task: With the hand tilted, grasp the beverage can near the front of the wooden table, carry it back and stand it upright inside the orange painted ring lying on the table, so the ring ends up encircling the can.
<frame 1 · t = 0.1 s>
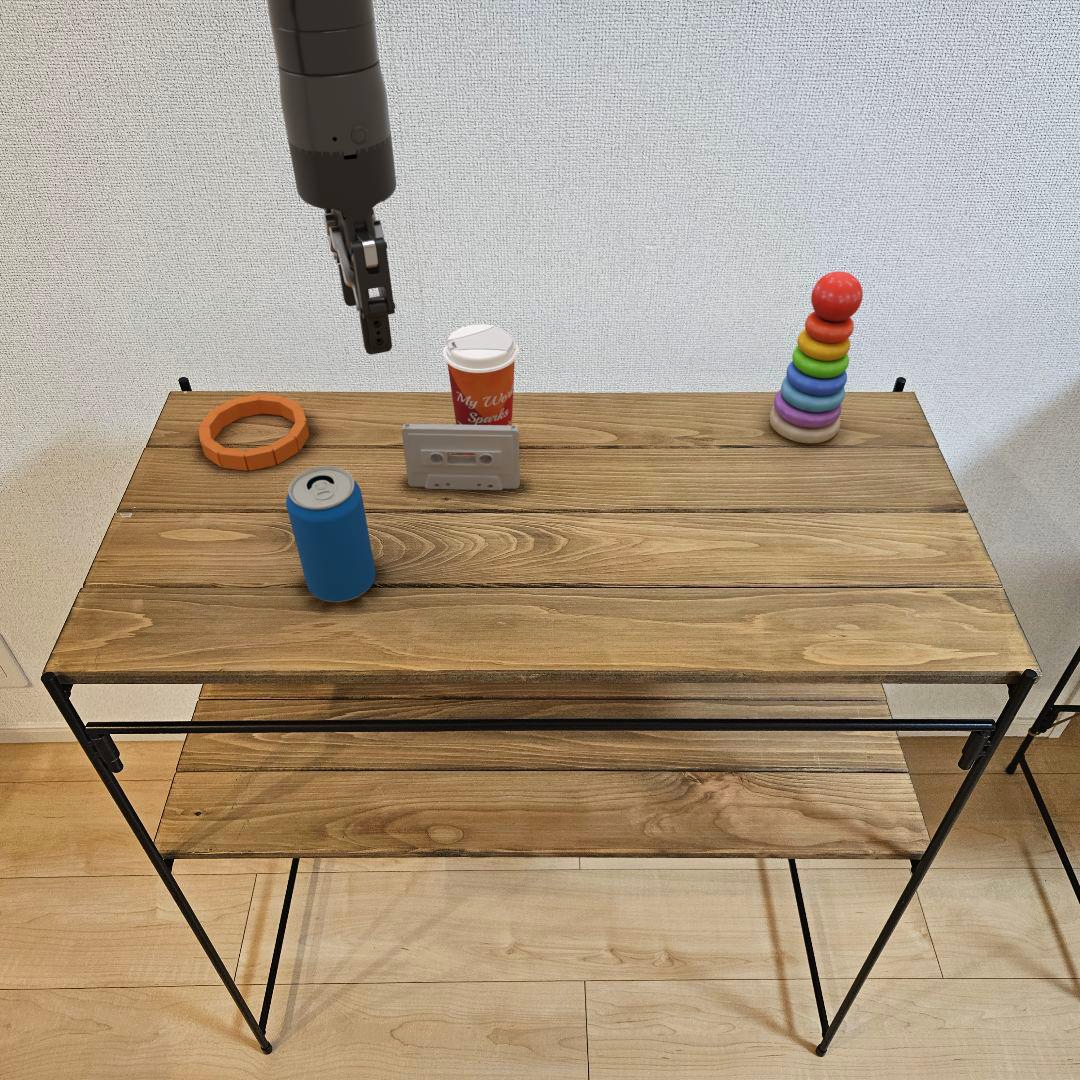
hand: (367, 326, 76), 22 cm above the table, tool pointing down, fingers open, 8 cm apart
ring: (256, 438, 101), on the table
beverage can: (342, 583, 85), on the table
stacking toy: (802, 427, 103), on the table
paper cup: (486, 451, 100), on the table
cassette: (464, 486, 95), on the table
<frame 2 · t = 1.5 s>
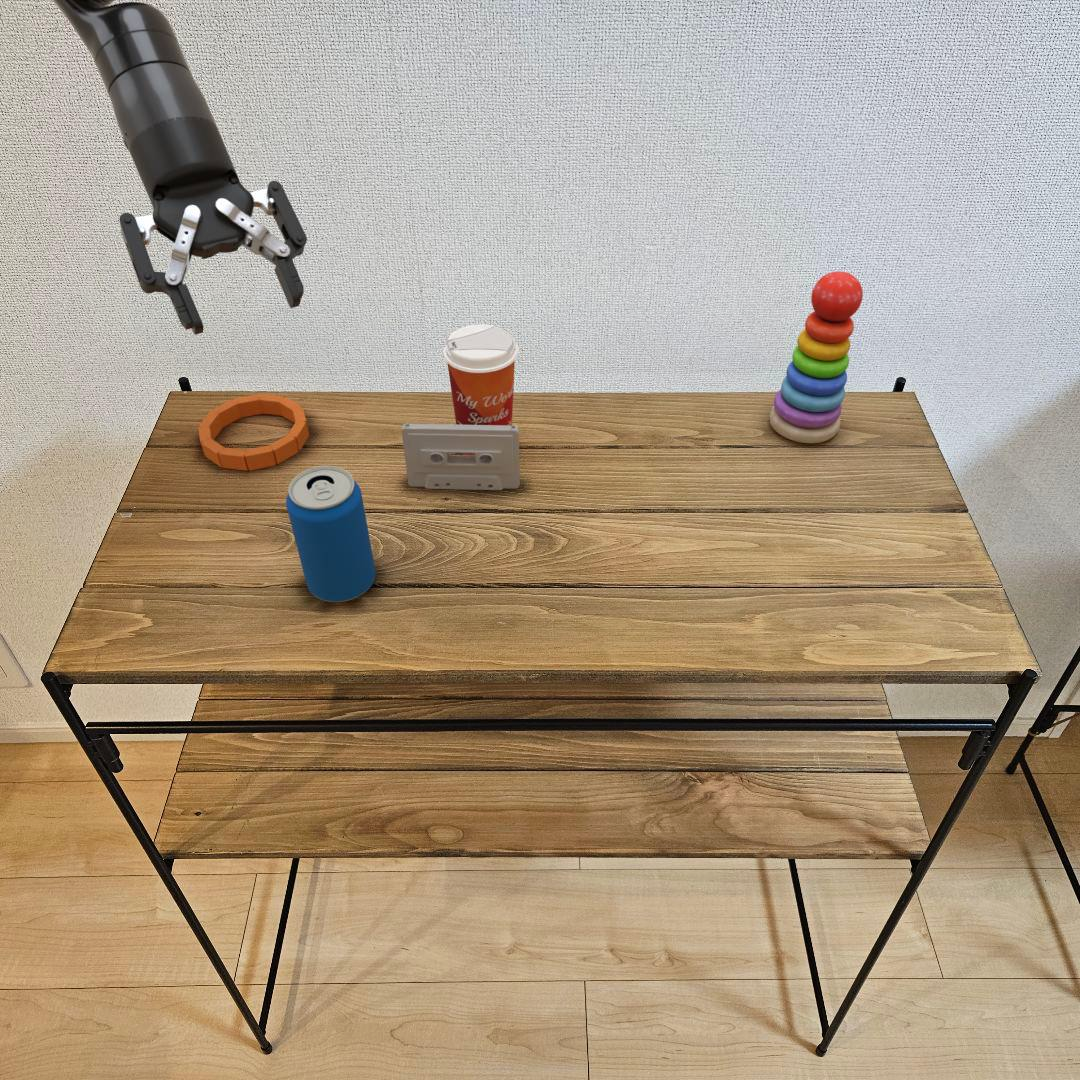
hand: (249, 317, 76), 23 cm above the table, tool tilted 45°, fingers open, 8 cm apart
nothing on the table moved.
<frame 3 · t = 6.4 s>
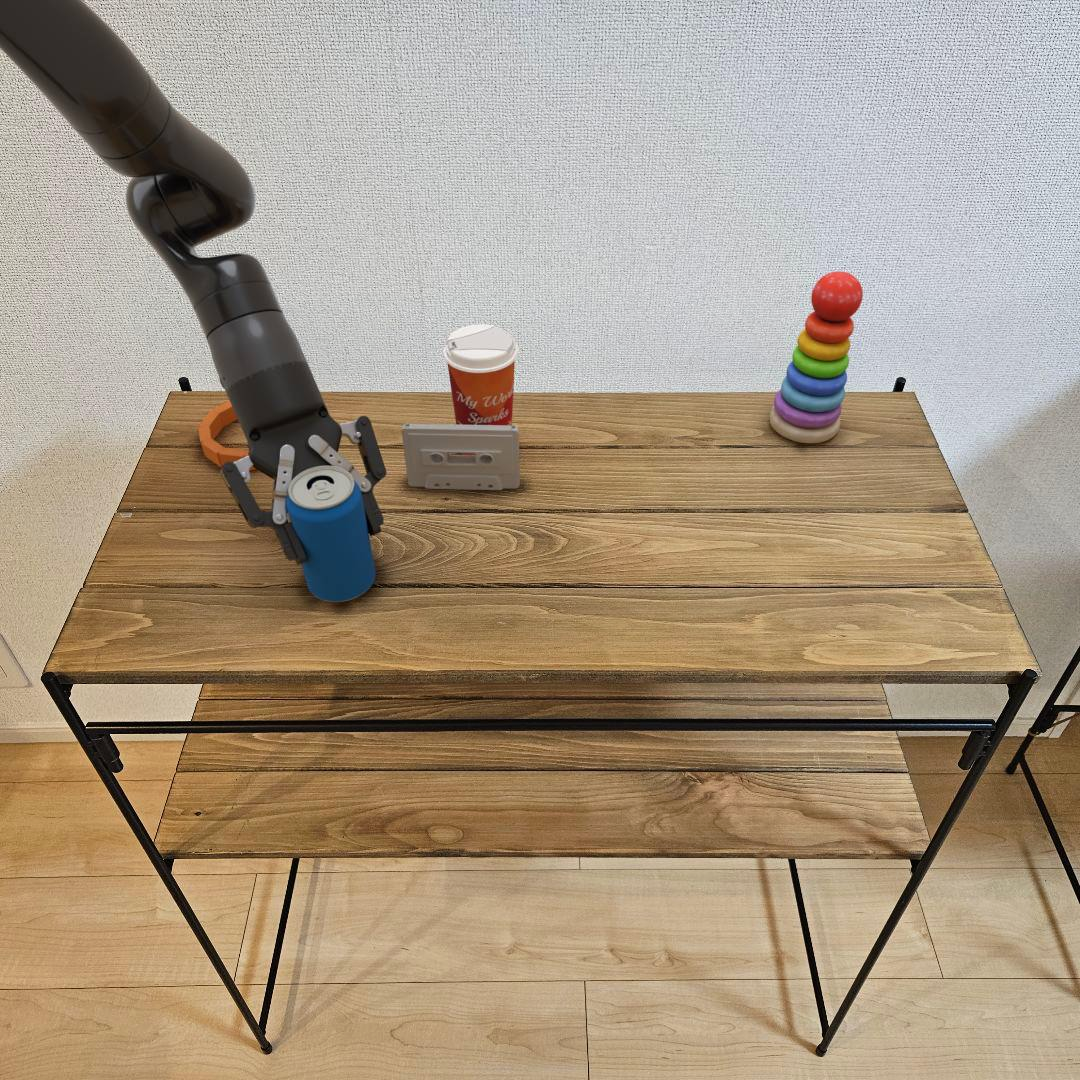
hand: (340, 547, 80), 6 cm above the table, tool tilted 45°, fingers closed on beverage can, 6 cm apart
beverage can: (342, 583, 85), on the table, touching gripper
everything else where it was.
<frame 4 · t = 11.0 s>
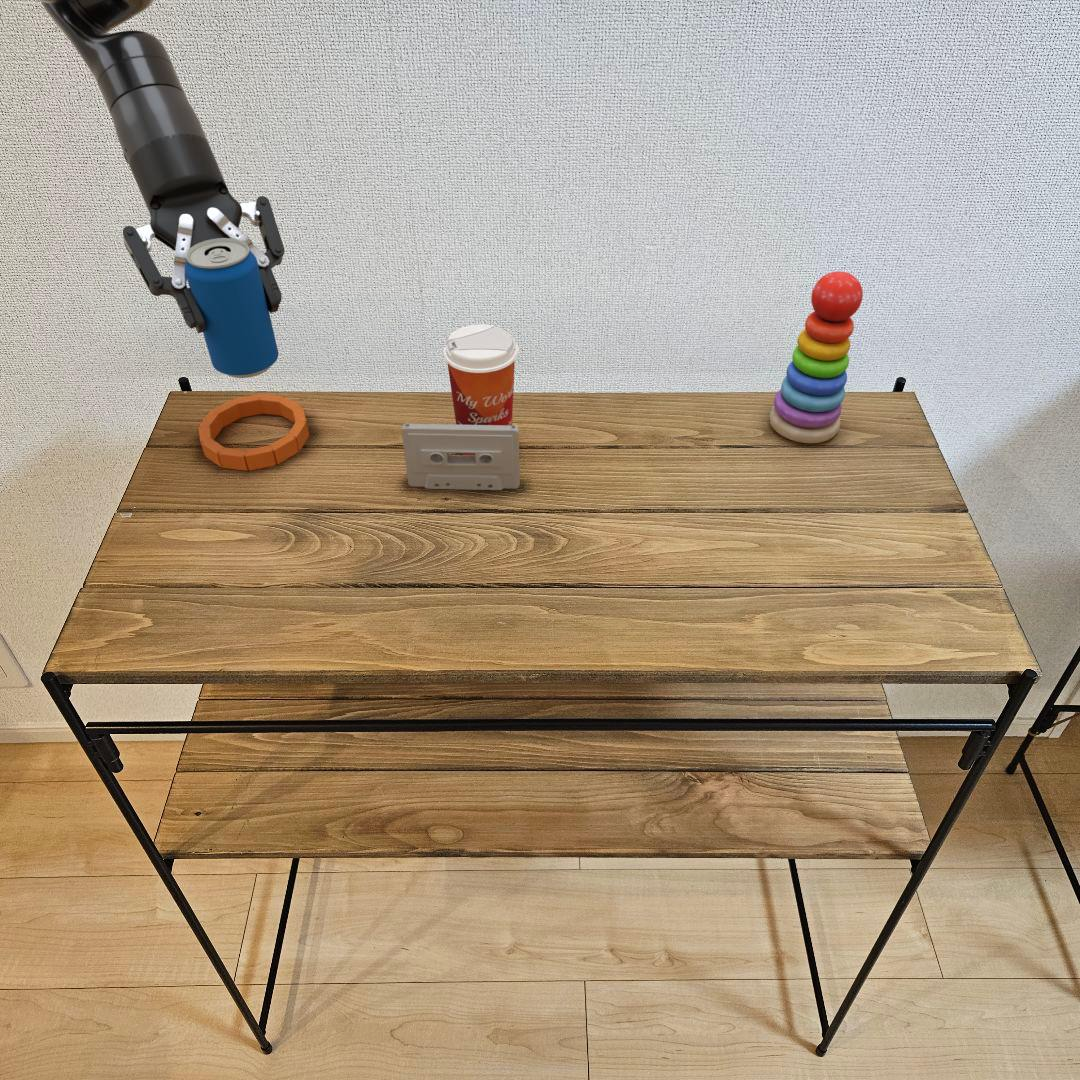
hand: (239, 319, 84), 18 cm above the table, tool tilted 45°, fingers closed on beverage can, 6 cm apart
beverage can: (247, 366, 89), point 12 cm above the table, touching gripper
everything else where it was.
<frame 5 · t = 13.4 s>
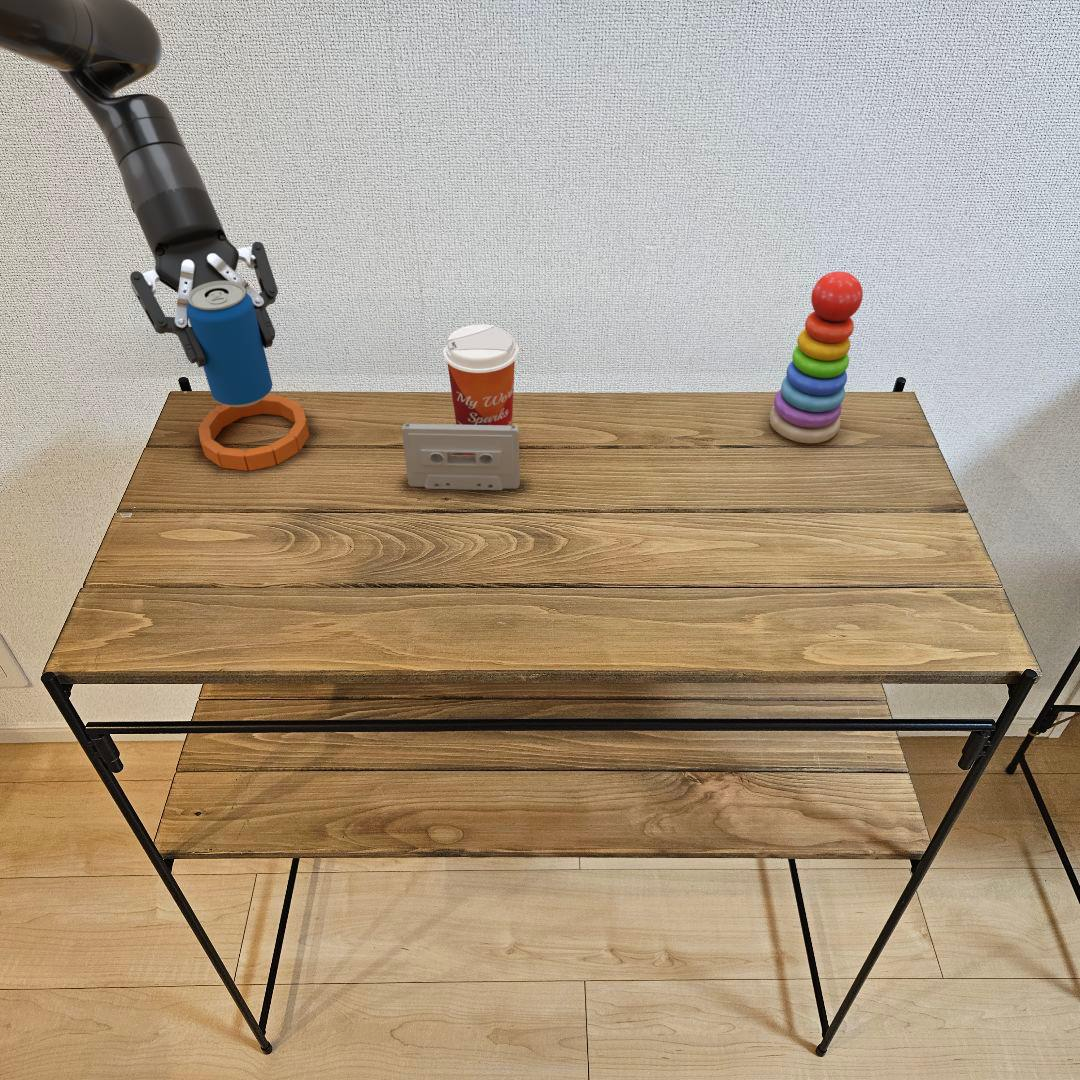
hand: (236, 354, 92), 12 cm above the table, tool tilted 45°, fingers closed on beverage can, 6 cm apart
beverage can: (244, 395, 97), point 6 cm above the table, touching gripper
everything else where it was.
when the fingers open (6 cm above the table, at t = 15.6 s): beverage can stays where it is, resting in ring.
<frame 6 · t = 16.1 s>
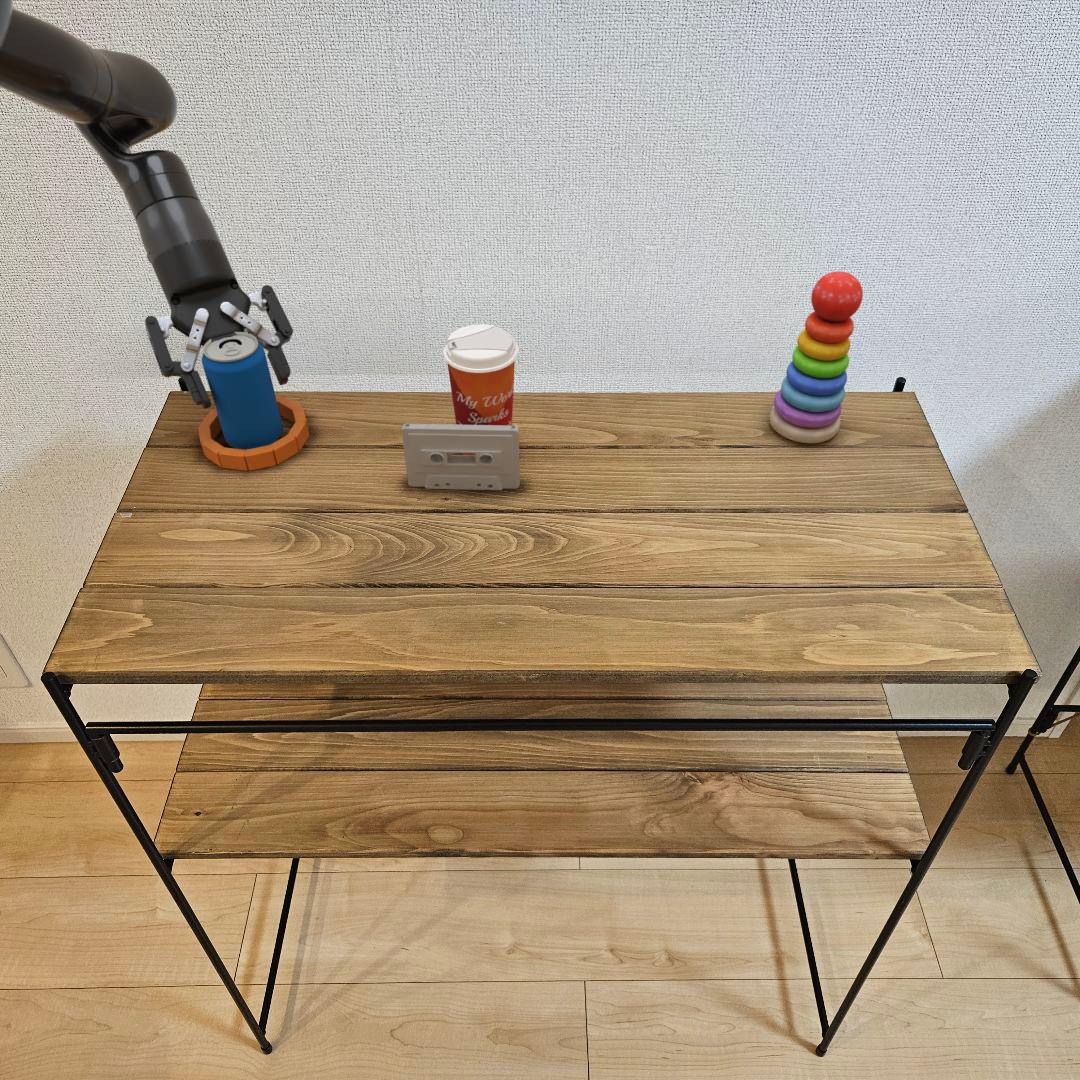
hand: (246, 394, 96), 7 cm above the table, tool tilted 45°, fingers open, 8 cm apart
beverage can: (255, 439, 101), resting in ring
everything else where it was.
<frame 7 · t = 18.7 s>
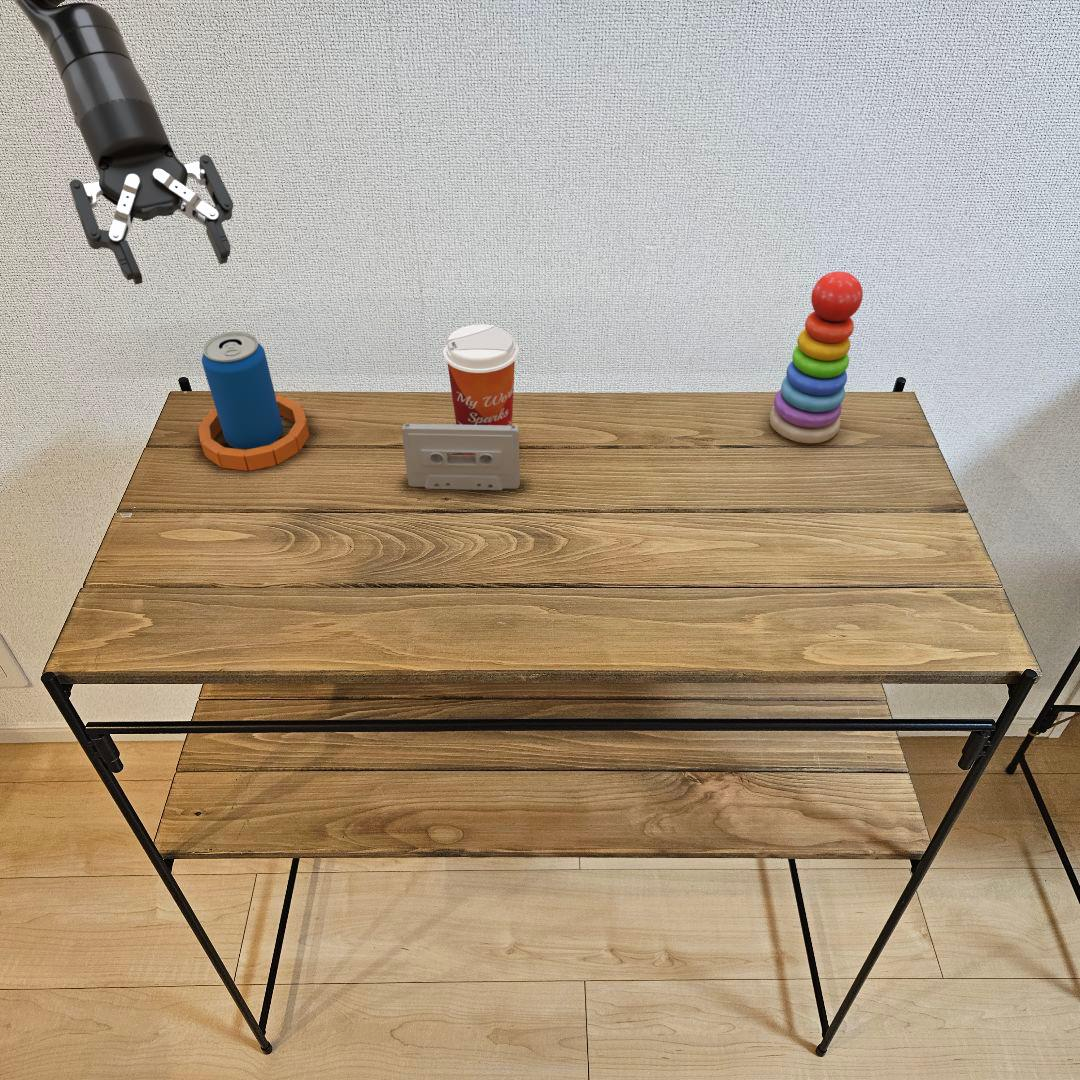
hand: (182, 270, 89), 20 cm above the table, tool tilted 45°, fingers open, 8 cm apart
nothing on the table moved.
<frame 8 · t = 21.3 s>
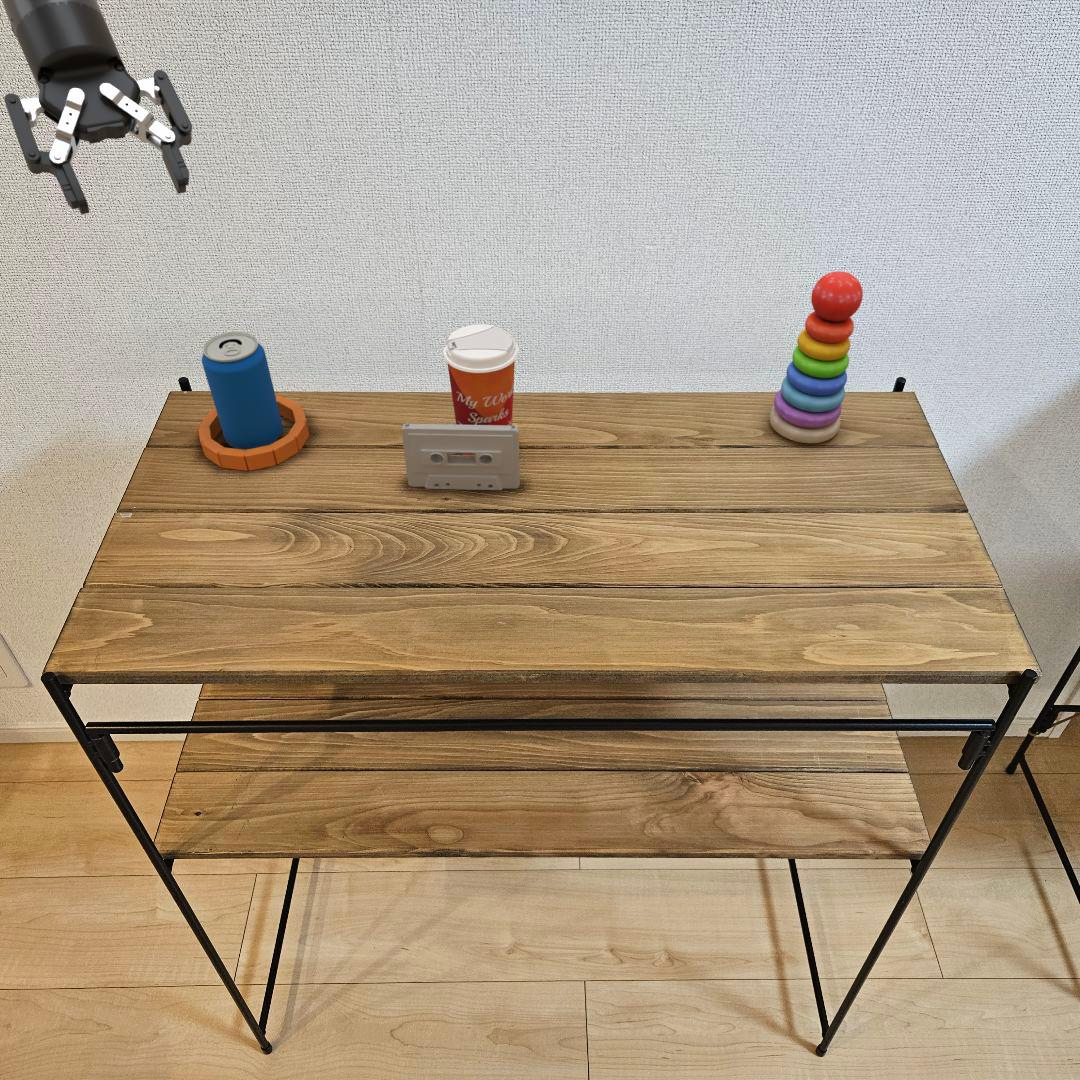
hand: (134, 199, 79), 29 cm above the table, tool tilted 45°, fingers open, 8 cm apart
nothing on the table moved.
at the end: beverage can 0.1 cm off-centre on the ring, point 0.0 cm above the ring's base; beverage can tilted 0°; the gripper is holding nothing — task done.
